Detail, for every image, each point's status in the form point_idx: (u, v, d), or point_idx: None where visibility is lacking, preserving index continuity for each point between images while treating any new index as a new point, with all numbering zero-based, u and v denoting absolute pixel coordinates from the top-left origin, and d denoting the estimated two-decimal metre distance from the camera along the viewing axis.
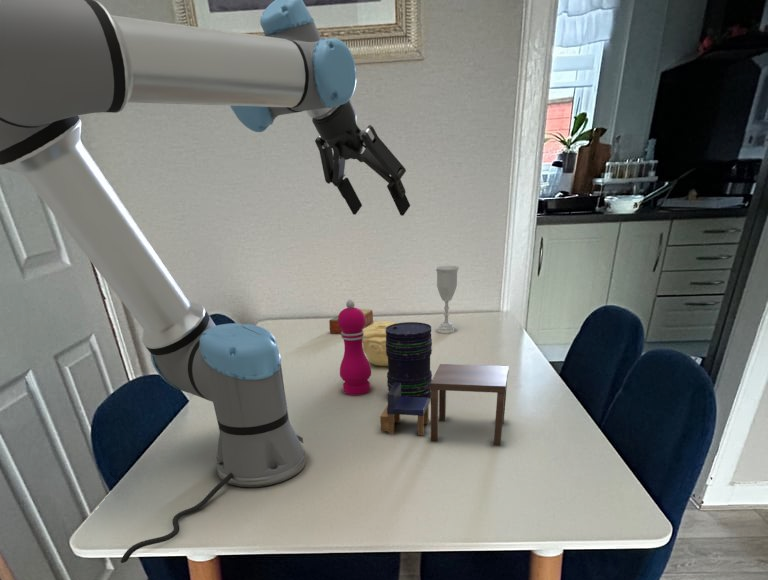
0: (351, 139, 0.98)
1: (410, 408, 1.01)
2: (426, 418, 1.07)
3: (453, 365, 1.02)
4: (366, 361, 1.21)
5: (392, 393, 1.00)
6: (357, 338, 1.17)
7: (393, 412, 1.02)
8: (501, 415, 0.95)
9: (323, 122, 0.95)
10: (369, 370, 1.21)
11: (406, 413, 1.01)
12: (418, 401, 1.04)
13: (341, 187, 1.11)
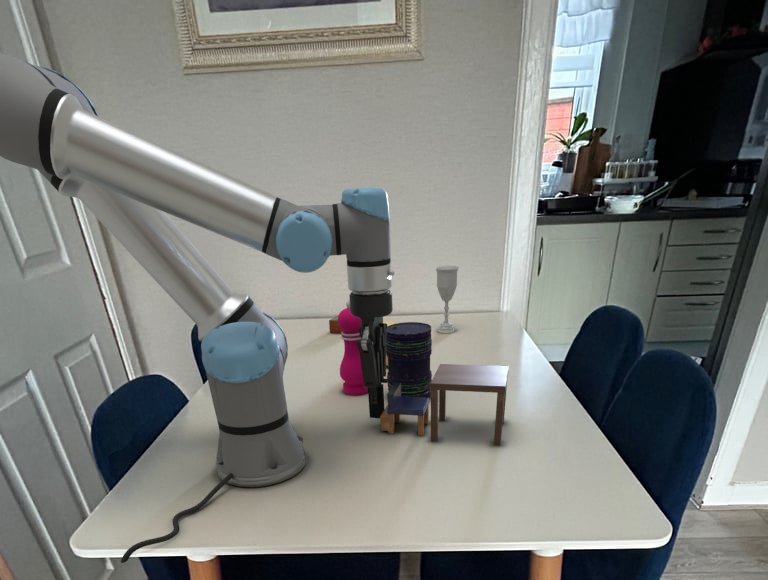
0: None
1: (410, 408, 1.01)
2: (426, 418, 1.07)
3: (453, 365, 1.02)
4: None
5: (392, 393, 1.00)
6: (357, 338, 1.17)
7: (393, 412, 1.02)
8: (501, 415, 0.95)
9: (350, 295, 0.94)
10: None
11: (406, 413, 1.01)
12: (418, 401, 1.04)
13: None
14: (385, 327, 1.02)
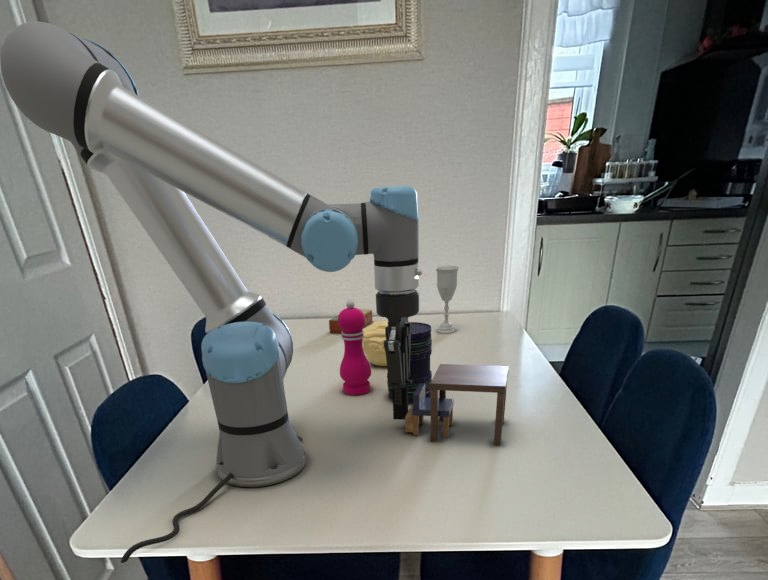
0: None
1: None
2: (450, 419, 1.06)
3: (453, 365, 1.02)
4: (366, 361, 1.21)
5: (418, 394, 0.99)
6: (357, 338, 1.17)
7: (418, 413, 1.01)
8: (501, 415, 0.95)
9: (376, 295, 0.93)
10: (369, 370, 1.21)
11: None
12: (443, 402, 1.03)
13: None
14: None
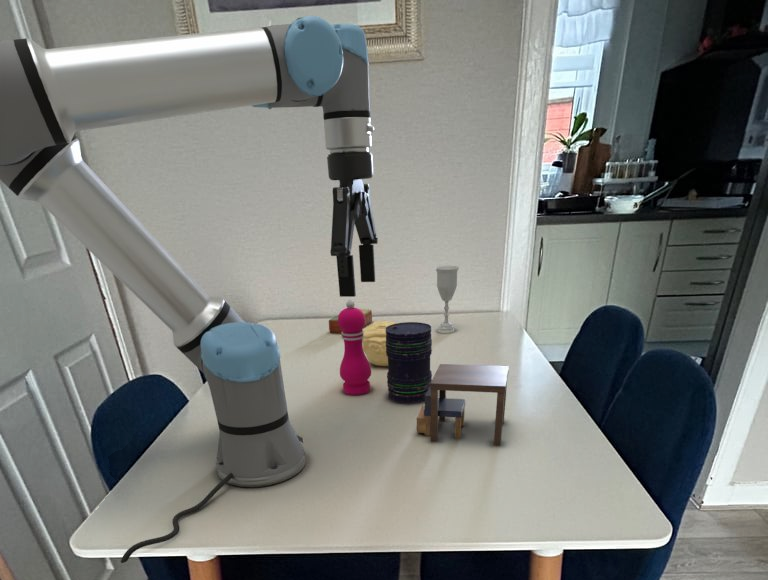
0: None
1: (448, 409, 1.00)
2: (462, 420, 1.05)
3: (453, 365, 1.02)
4: (366, 361, 1.21)
5: (430, 394, 0.99)
6: (357, 338, 1.17)
7: (430, 414, 1.00)
8: (501, 415, 0.95)
9: (328, 156, 0.89)
10: (369, 370, 1.21)
11: (443, 414, 1.00)
12: (455, 403, 1.02)
13: (359, 246, 1.02)
14: (367, 190, 0.96)
